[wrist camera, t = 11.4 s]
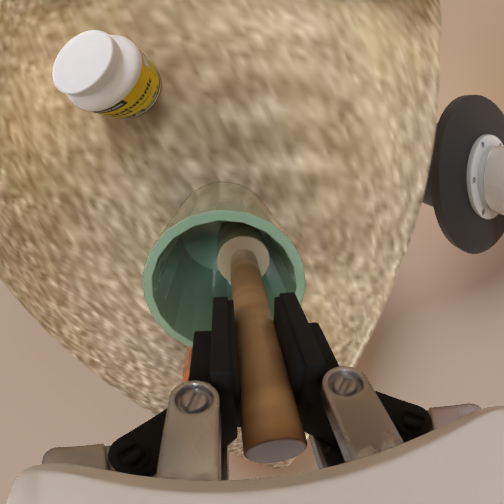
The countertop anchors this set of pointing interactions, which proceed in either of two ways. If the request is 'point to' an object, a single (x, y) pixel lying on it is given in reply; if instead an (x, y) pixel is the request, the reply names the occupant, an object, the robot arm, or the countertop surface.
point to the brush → (258, 351)
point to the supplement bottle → (106, 75)
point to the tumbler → (212, 259)
